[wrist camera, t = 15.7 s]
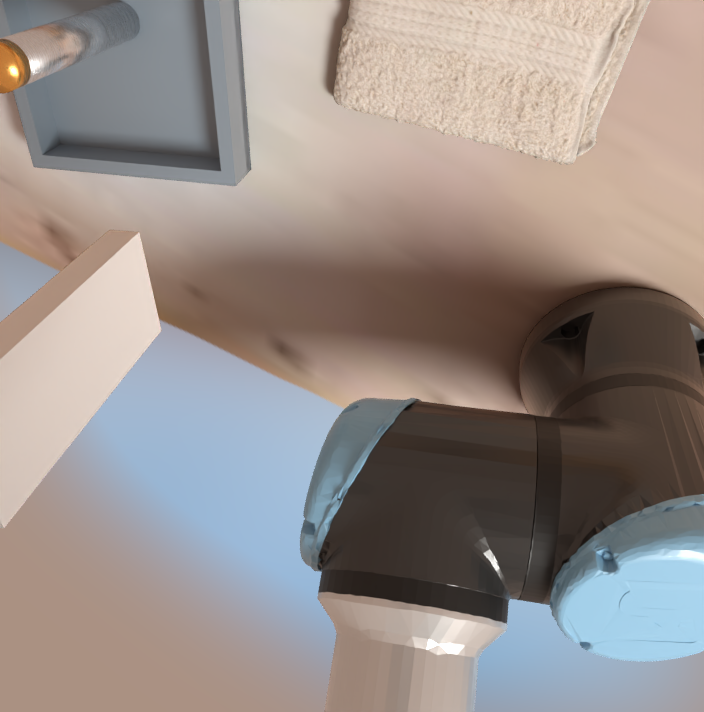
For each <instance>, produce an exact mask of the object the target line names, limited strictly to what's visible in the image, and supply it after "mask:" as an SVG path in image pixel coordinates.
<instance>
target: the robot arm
mask: <svg viewBox="0 0 704 712" xmlns="http://www.w3.org/2000/svg"><path fill="white" fill-rule="evenodd" d="M160 332H161V326H160V322H159V317H158V313H157V309H156V304H155V300H154V295H153V291H152V286H151V282H150V277H149V273H148V269H147V264H146V260H145V255H144V251H143V246H142V242H141V238H140V233H139V232H132V231H116V230H109V231H108V232H107V233H105V234H104V235H103V236H102V237H101V238H100V239H98V240H97V241H96V242H95V243H94V244H92V245H91V246H90V247H89V248H88V249H86V250H85V251H84V252H83V253H82V254H81V255H79V256H78V257H77V258H76V259H75V260H73V261H72V262H71V263H70V264H69V265H68V266H66V267H65V268H64V269H63V270H62V271H60V272H59V273H58V274H57V275H56V276H55V277H53V278H52V279H51V280H50V281H49V282H48V283H46V284H45V285H44V286H43V287H42V288H40V289H39V290H38V291H37V292H36V293H34V294H33V295H32V296H31V297H30V298H29V299H27V300H26V301H25V302H24V303H23V304H22V305H20V306H19V307H18V308H17V309H16V310H14V311H13V312H12V313H11V314H10V315H8V316H7V317H6V318H5V319H4V320H3V321H1V322H0V528H4V527H5V526H6V525H7V524H8V523H9V521H10V520H11V518H13V516H14V515H15V513H16V512H17V511H18V510H19V509H20V507H21V506H22V505H23V504H24V502H25V501H26V500H27V499H28V497H29V496H30V495H31V494H32V492H33V491H34V490H35V489H36V487H37V486H38V485H39V484H40V482H41V481H42V480H43V478H44V477H45V476H46V475H47V474H48V472H49V471H50V470H51V469H52V467H53V466H54V465H55V464H56V462H57V461H58V460H59V458H60V457H61V456H62V455H63V453H64V452H65V451H66V450H67V448H68V447H69V446H70V444H71V443H72V442H73V441H74V440H75V438H76V437H77V436H78V435H79V433H80V432H81V431H82V430H83V428H84V427H85V426H86V424H87V423H88V422H89V421H90V420H91V418H92V417H93V416H94V414H95V413H96V412H97V411H98V409H99V408H100V407H101V406H102V404H103V403H104V402H105V401H106V399H107V398H108V397H109V396H110V394H111V393H112V392H113V391H114V389H115V388H116V387H117V385H118V384H119V383H120V382H121V381H122V379H123V378H124V377H125V376H126V374H127V373H128V372H129V371H130V369H131V368H132V367H133V366H134V364H135V363H136V362H137V361H138V359H139V358H140V357H141V356H142V354H143V353H144V351H146V349H147V348H148V347H149V345H150V344H151V343H152V342H153V340H154V339H155V338H156V337H157V335H158V334H159V333H160ZM519 380H520V391H521V396H522V399H523V402H524V405H525V407H526V410H527V411H528V413H529V414H523V413H514V412H505V411H496V410H487V409H478V408H469V407H460V406H452V405H444V404H437V403H429V402H422V401H421V400H419V399H415V398H410V399H407V400H393V399H377V398H365V399H360V400H357V401H355V402H353V403H352V404H350V405H349V406H348V407H346V408H345V409H344V410H343V412H342V413H341V414H340V415H339V417H338V418H337V419H336V421H335V422H334V424H333V426H332V428H331V430H330V431H329V433H328V435H327V437H326V440H325V442H324V445H323V447H322V449H321V452H320V455H319V457H318V460H317V463H316V466H315V469H314V472H313V476H312V479H311V483H310V486H309V490H308V494H307V498H306V503H305V507H304V517H305V520H304V523H303V527H302V530H301V536H300V551H301V557H302V559H303V561H304V562H305V563H306V564H307V565H308V566H310V567H311V568H312V569H313V570H314V571H321V572H322V575H321V580H320V586H319V592H318V600H319V601H320V603H321V604H322V606H323V608H324V609H325V611H326V612H327V614H328V615H329V617H330V618H331V620H332V621H333V623H334V626H335V629H336V633H337V635H336V642H335V648H334V654H333V660H332V667H331V673H330V680H329V686H328V692H327V698H326V705H325V711H324V712H474V707H475V694H476V682H477V670H478V658H479V656H480V655H481V653H482V652H483V650H484V649H485V648H486V647H487V646H489V645H490V644H491V643H492V642H493V641H495V640H496V639H497V638H498V637H499V636H500V635H502V634H503V633H504V632H505V631H506V629H507V615H508V602H509V600H510V599H517V600H523V601H529V602H535V603H541V604H547V605H550V608H551V610H552V615H553V617H554V618H555V620H556V621H557V624H558V626H559V628H560V629H561V631H562V632H563V633H564V635H565V636H566V637H567V638H568V639H570V640H571V641H572V642H574V643H578V642H580V645H581V647H582V648H583V649H585V650H587V651H589V652H591V653H594V654H597V655H600V656H603V657H607V658H611V659H617V660H625V661H661V660H669V659H675V658H681V657H685V656H689V655H693V654H697V653H700V652H702V651H704V319H703V318H702V317H701V316H700V315H699V314H698V313H697V312H696V311H695V310H694V309H693V308H691V307H690V306H689V305H687V304H686V303H684V302H682V301H680V300H679V299H677V298H675V297H672V296H670V295H667V294H664V293H661V292H658V291H654V290H649V289H643V288H633V287H620V288H608V289H602V290H597V291H593V292H590V293H586V294H583V295H580V296H578V297H575V298H573V299H571V300H569V301H567V302H565V303H563V304H561V305H560V306H558V307H557V308H555V309H554V310H552V311H551V312H550V313H548V314H547V315H546V316H545V317H544V318H543V319H542V320H541V321H540V322H539V323H538V324H537V325H536V326H535V328H534V329H533V330H532V332H531V333H530V335H529V336H528V338H527V340H526V342H525V344H524V346H523V349H522V353H521V357H520V364H519Z"/></svg>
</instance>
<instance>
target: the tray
mask: <svg viewBox="0 0 704 712" xmlns="http://www.w3.org/2000/svg"><path fill="white" fill-rule="evenodd" d="M117 1H122V2H125V3H127V4H129V5H130V6H131V7H132V8H133V9H134V10H135V11H136V13H137V15H138V17H139V21H140V30H139V33H138V35H137V36H136V37H135V38H134V39H132V40H130V41H127V42H125V43H123V44H120V45H118V46H116V47H113V48H111V49H109V50H106V51H104V52H102V53H99V54H97V55H95V56H92V57H90V58H88V59H85V60H83V61H81V62H78V63H76V64H74V65H71V66H69V67H67V68H64V69H62V70H60V71H57V72H55V73H53V74H50V75H48V76H46V77H43V78H41V79H39V80H36V81H34V82H32V83H29V84H27V85H25V86H22V87H20V88H18V89H15V90H13V93H14V96H15V100H16V104H17V107H18V111H19V115H20V118H21V122H22V126H23V129H24V133H25V137H26V140H27V144H28V148H29V151H30V155H31V159H32V162H33V166H34V167H38V168H48V169H59V170H70V171H80V172H91V173H102V174H112V175H123V176H134V177H144V178H155V179H165V180H176V181H187V182H197V183H208V184H219V185H229V186H236V185H237V184H238V183H239V182H240V181H241V180H242V179H243V178H244V176H245V175H246V174H247V173H248V172H249V171H250V170H251V161H250V147H249V134H248V121H247V107H246V94H245V81H244V67H243V54H242V41H241V28H240V14H239V1H238V0H0V38H3V37H6V36H9V35H12V34H16V33H19V32H22V31H25V30H28V29H31V28H35V27H38V26H41V25H44V24H47V23H50V22H53V21H57V20H60V19H63V18H66V17H69V16H72V15H76V14H79V13H82V12H85V11H88V10H91V9H94V8H98V7H101V6H104V5H107V4H110V3H113V2H117Z"/></svg>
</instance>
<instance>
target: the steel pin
mask: <svg viewBox="0 0 704 712" xmlns="http://www.w3.org/2000/svg"><path fill="white" fill-rule="evenodd" d="M139 30H140V21H139V17H138V15H137V13H136V11H135V10H134V9H133V8H132V7H131V6H130V5H129V4H127V3H125V2H122V1H117V2H113V3H110V4H107V5H104V6H101V7H98V8H94V9H91V10H88V11H85V12H82V13H79V14H76V15H72V16H69V17H66V18H63V19H60V20H57V21H53V22H50V23H47V24H44V25H41V26H38V27H35V28H31V29H28V30H25V31H22V32H19V33H16V34H12V35H9V36H6V37H3V38H0V93H8V92H11V91H13V90H15V89H18V88H20V87H22V86H25V85H27V84H29V83H32V82H34V81H36V80H39V79H41V78H43V77H46V76H48V75H50V74H53V73H55V72H57V71H60V70H62V69H64V68H67V67H69V66H71V65H74V64H76V63H78V62H81V61H83V60H85V59H88V58H90V57H92V56H95V55H97V54H99V53H102V52H104V51H106V50H109V49H111V48H113V47H116V46H118V45H120V44H123V43H125V42H127V41H130V40H132V39H134V38H135V37H136V36H137V35H138V33H139Z"/></svg>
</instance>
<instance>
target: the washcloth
mask: <svg viewBox="0 0 704 712" xmlns="http://www.w3.org/2000/svg"><path fill="white" fill-rule="evenodd" d="M650 1H651V0H350V6H349V10H348V19H347V23H346V24H345V25H344V26H343V28H342V35H341V41H340V48H338V50H339V54H338V56H337V68H336V72H337V73H336V79H335V82H334V83H335V86H334V89H333V94H334V100H335V101H336V103H337V104H338V105H342V106H344V108H345V109H348V110H349V109H350V108H353V109H354V110H356V111H360V112H363V113H369V114H375V115H380V116H381V117H383V118H387V119H395V120H396V121H397V122H402V123H409V124H415V125H418V126H421V127H422V128H430V129H435V130H436V131H438V132H441V133H442V134H444V135H446V134H450V135H455V136H457V137H458V136H461V137H463V138H464V139H473V140H474V141H475V142H479V143H480V142H481V143H485V144H486V143H487V144H493V145H495V146H498V147H501V148H506V149H508V150H514V151H517V152H519V151H520V152H521V153H522V154H528V155H532V156H534V157H535V158H541V159H544V160H550V161H553V162H557V163H559V164H563V163H564V164H566V165H567V164H573V163H574V161H575V159H576V157H578V156H581V155H582V154H584V153H585V152H587V151H588V150H590V149H591V148H592V147H593V146H594V145H595V144H596V141H595V139H596V131H597V127H598V125H599V122H600V119H601V116H602V114H603V111H604V109H605V106H606V104H607V102H608V100H609V98H610V95H611V93H612V90H613V88H614V86H615V83H616V81H617V78H618V76H619V74H620V71H621V69H622V66H623V64H624V61H625V59H626V56H627V54H628V52H629V50H630V48H631V45H632V42H633V39H634V38H635V35H636V32H637V30H638V28H639V25H640V22H641V20H642V18H643V16H644V14H645V11H646V8H647V6H648V4H649V2H650Z"/></svg>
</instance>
